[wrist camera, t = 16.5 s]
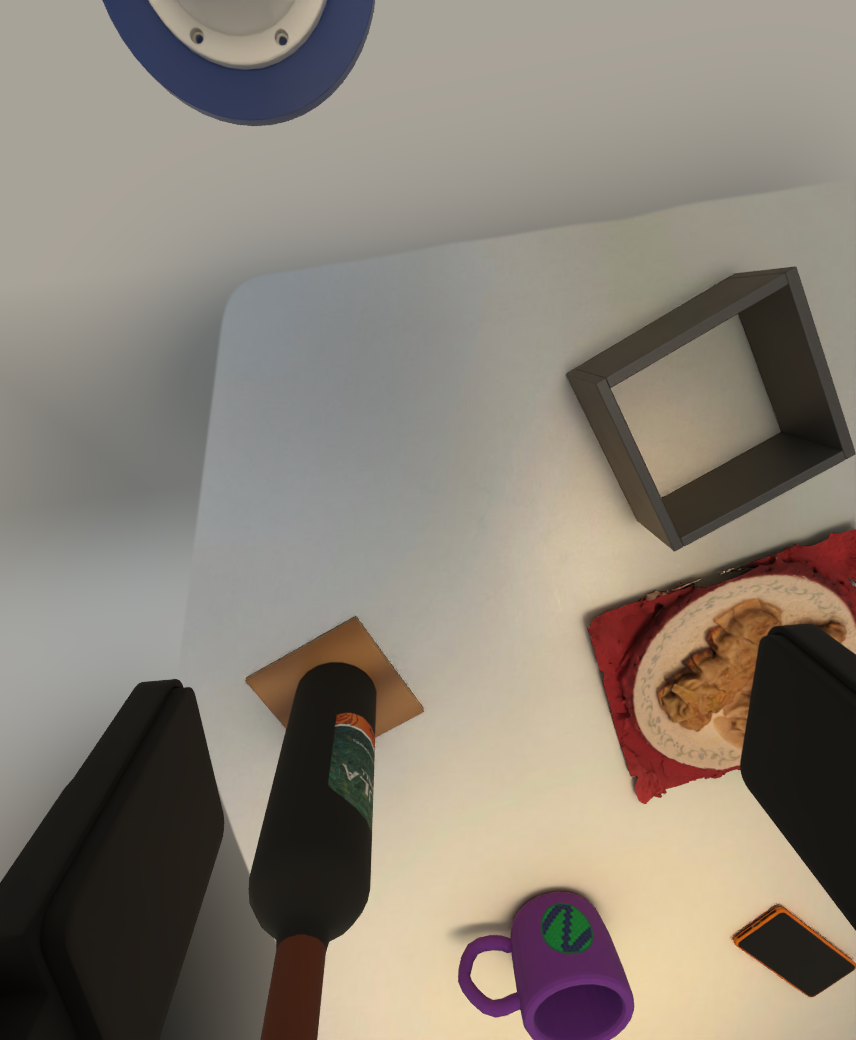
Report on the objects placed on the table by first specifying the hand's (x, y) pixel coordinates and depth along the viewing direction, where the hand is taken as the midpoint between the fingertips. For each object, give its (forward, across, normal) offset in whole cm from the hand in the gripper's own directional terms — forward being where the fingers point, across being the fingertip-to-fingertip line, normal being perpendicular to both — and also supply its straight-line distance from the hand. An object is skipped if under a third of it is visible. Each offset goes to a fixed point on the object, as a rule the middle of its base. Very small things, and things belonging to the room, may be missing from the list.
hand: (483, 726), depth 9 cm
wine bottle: (+38, +9, +27) cm, 47 cm away
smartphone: (+38, -43, +70) cm, 91 cm away
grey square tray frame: (+38, -22, +2) cm, 44 cm away
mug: (+38, -10, +60) cm, 72 cm away
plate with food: (+38, -30, +28) cm, 57 cm away
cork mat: (+38, +9, +27) cm, 48 cm away
